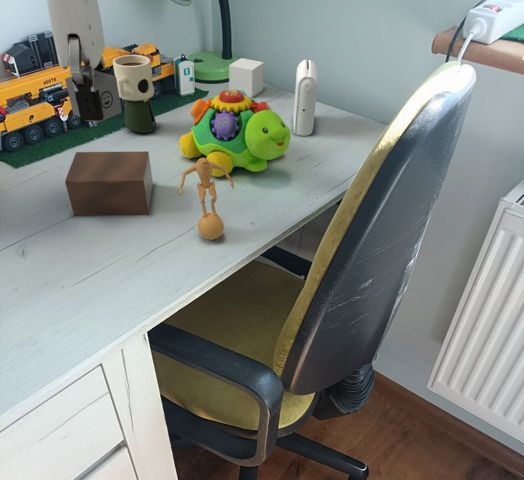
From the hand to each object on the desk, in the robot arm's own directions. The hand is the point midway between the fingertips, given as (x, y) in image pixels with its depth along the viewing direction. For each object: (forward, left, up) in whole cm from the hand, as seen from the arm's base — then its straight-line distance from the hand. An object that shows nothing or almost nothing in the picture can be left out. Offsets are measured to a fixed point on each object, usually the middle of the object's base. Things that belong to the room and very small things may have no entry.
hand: (96, 107), depth 76 cm
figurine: (+16, -11, -15) cm, 25 cm away
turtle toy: (+22, +13, -15) cm, 30 cm away
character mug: (+2, +28, -15) cm, 32 cm away
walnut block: (0, 0, -15) cm, 15 cm away
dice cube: (0, 0, -1) cm, 1 cm away
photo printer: (+36, +29, -15) cm, 49 cm away
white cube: (+25, +49, -15) cm, 57 cm away
